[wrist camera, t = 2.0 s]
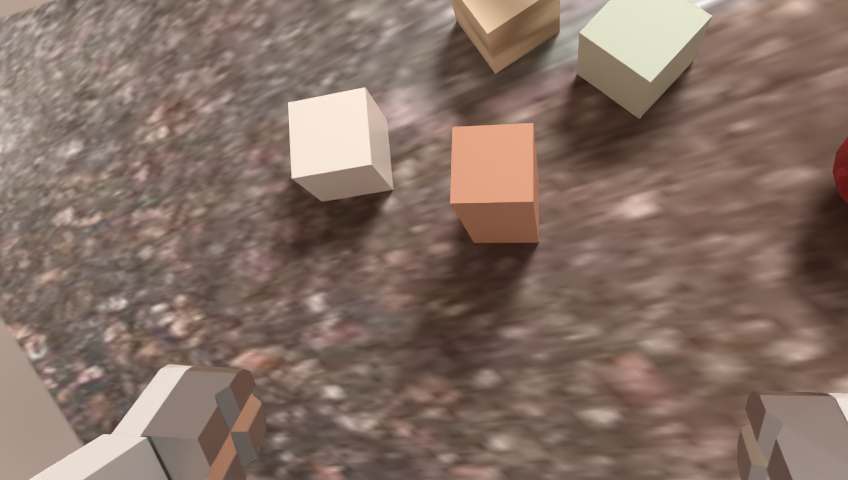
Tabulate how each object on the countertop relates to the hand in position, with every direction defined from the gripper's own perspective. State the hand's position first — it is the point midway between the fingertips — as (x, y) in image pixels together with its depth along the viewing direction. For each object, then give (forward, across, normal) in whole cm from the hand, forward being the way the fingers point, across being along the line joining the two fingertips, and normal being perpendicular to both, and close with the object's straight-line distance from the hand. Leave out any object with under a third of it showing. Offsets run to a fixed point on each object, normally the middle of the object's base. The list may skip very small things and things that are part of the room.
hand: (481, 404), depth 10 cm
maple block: (+36, +2, +2) cm, 36 cm away
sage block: (+33, -6, +5) cm, 34 cm away
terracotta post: (+27, +2, +11) cm, 29 cm away
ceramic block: (+30, +12, +9) cm, 33 cm away
